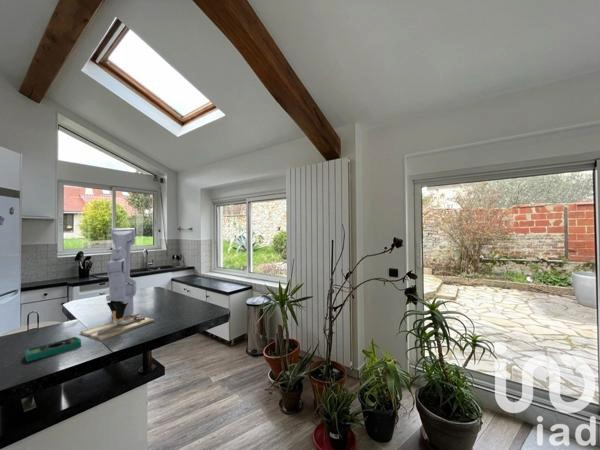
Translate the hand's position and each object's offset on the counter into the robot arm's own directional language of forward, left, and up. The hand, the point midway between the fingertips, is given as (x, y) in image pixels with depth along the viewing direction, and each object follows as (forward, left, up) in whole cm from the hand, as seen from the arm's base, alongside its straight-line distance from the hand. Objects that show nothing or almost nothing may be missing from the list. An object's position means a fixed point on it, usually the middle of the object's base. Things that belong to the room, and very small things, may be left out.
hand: (118, 317), depth 117 cm
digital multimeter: (+2, -23, -5) cm, 24 cm away
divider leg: (+1, 0, -3) cm, 3 cm away
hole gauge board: (0, 0, -4) cm, 4 cm away
